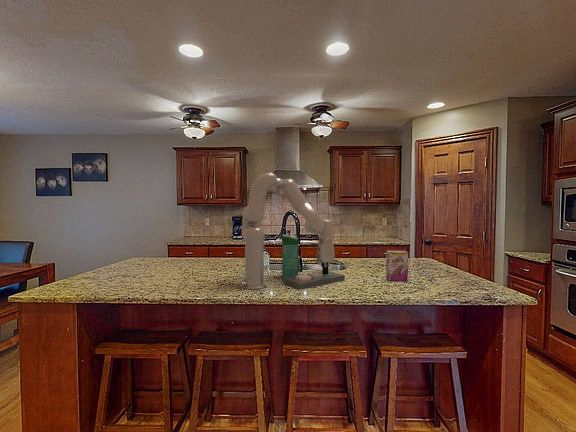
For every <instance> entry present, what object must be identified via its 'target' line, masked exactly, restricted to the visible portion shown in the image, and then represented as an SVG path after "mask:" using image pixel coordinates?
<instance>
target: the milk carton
mask: <svg viewBox="0 0 576 432" xmlns="http://www.w3.org/2000/svg"><path fill="white" fill-rule="evenodd" d="M281 237H282V238H281V240H282V241H281V243H282V244H281V252H282V253H281V254H282V255H281V256H282V257H281V267H282V268H281V269H282V270H281V277H282V278H281V279H282V280H284V278H290V277H295V276H298V275H299V237H297V235H293V234H289V235H288V234H282V236H281Z"/></svg>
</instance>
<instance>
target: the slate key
mask: <svg viewBox="0 0 576 432" xmlns="http://www.w3.org/2000/svg"><path fill="white" fill-rule="evenodd" d="M306 275H308V276H311V278H313V279H316V278H321V277H323V274H319V273H318V272H311V273H309V272H308V273H307V274H306Z"/></svg>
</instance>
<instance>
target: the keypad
mask: <svg viewBox="0 0 576 432" xmlns="http://www.w3.org/2000/svg"><path fill="white" fill-rule="evenodd" d="M317 273H319V274H321V273H322V271H320V272H318V271H317ZM328 273H329V274H333V275H332V276H327V277H324V276H323V277H321V278H316V279H313V278H311V280H305V281H301V280H298V279H296V276H295V277H290V278H284V279H283V285H285V286H287V287H288V286H289V287H291V288H294V289H297V290H299V291H301V290H305V289H311V288H316V287H320V286H324V285H331V284H334V283H340V282H344V281H345V279H346V278H345V277H346V276H345V275H344V274H341V273H336V272H332V271H329V270H328Z"/></svg>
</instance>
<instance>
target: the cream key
mask: <svg viewBox="0 0 576 432" xmlns="http://www.w3.org/2000/svg"><path fill="white" fill-rule="evenodd" d="M296 279H298V280H301V281H305V280H311V276H308V275H307V274H300V275H299V274H298V276H296Z"/></svg>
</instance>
